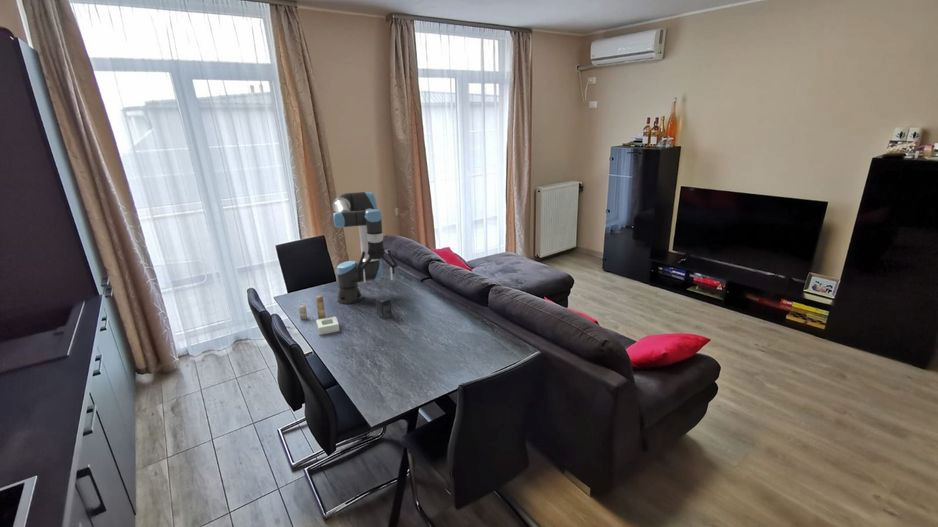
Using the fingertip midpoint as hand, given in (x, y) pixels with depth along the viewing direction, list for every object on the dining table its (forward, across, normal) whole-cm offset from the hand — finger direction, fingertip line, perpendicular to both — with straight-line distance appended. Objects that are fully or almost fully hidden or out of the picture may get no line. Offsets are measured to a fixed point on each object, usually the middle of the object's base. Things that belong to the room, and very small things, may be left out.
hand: (378, 280), depth 210 cm
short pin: (+27, -41, +22) cm, 54 cm away
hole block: (+26, -28, +5) cm, 38 cm away
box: (+27, +2, +13) cm, 30 cm away
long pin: (+26, -31, +16) cm, 44 cm away
